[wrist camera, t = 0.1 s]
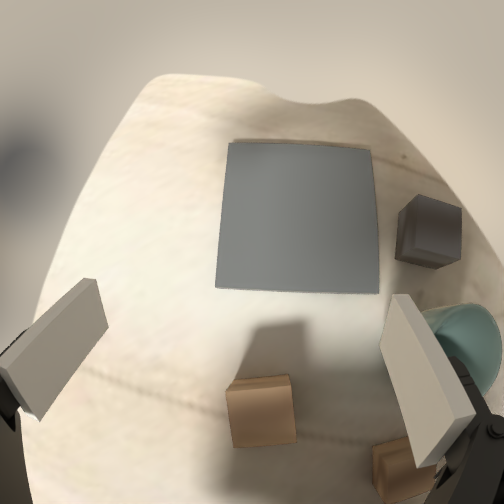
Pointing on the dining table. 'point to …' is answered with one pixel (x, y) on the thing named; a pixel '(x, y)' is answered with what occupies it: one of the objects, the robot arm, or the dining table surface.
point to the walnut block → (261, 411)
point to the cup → (468, 339)
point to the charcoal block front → (429, 233)
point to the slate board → (298, 220)
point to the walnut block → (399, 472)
